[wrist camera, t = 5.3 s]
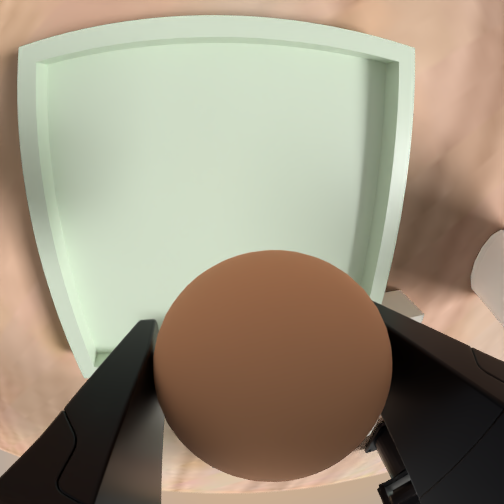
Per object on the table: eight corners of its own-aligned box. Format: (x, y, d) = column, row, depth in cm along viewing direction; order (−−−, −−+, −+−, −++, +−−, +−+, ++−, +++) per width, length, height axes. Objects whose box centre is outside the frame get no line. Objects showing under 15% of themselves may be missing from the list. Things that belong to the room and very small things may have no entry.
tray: (355, 331, 21) (368, 349, 19) (90, 356, 18) (84, 378, 16) (392, 51, 13) (414, 48, 11) (37, 52, 10) (18, 47, 8)
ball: (323, 355, 10) (386, 478, 6) (172, 372, 9) (180, 521, 5) (346, 212, 8) (485, 327, 4) (147, 222, 7) (103, 393, 3)
